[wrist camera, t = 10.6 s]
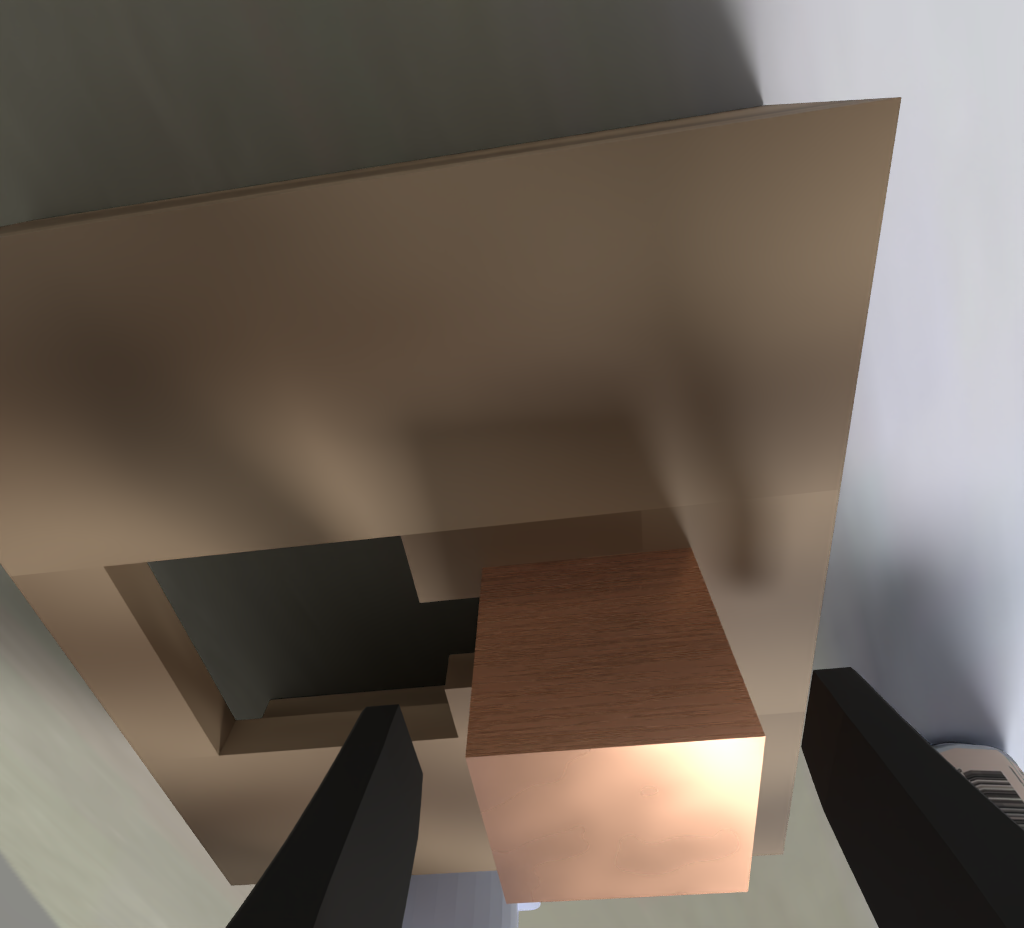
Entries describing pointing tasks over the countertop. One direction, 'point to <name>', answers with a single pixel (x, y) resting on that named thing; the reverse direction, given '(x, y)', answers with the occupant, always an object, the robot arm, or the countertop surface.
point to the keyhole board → (441, 419)
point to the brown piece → (611, 731)
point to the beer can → (990, 775)
